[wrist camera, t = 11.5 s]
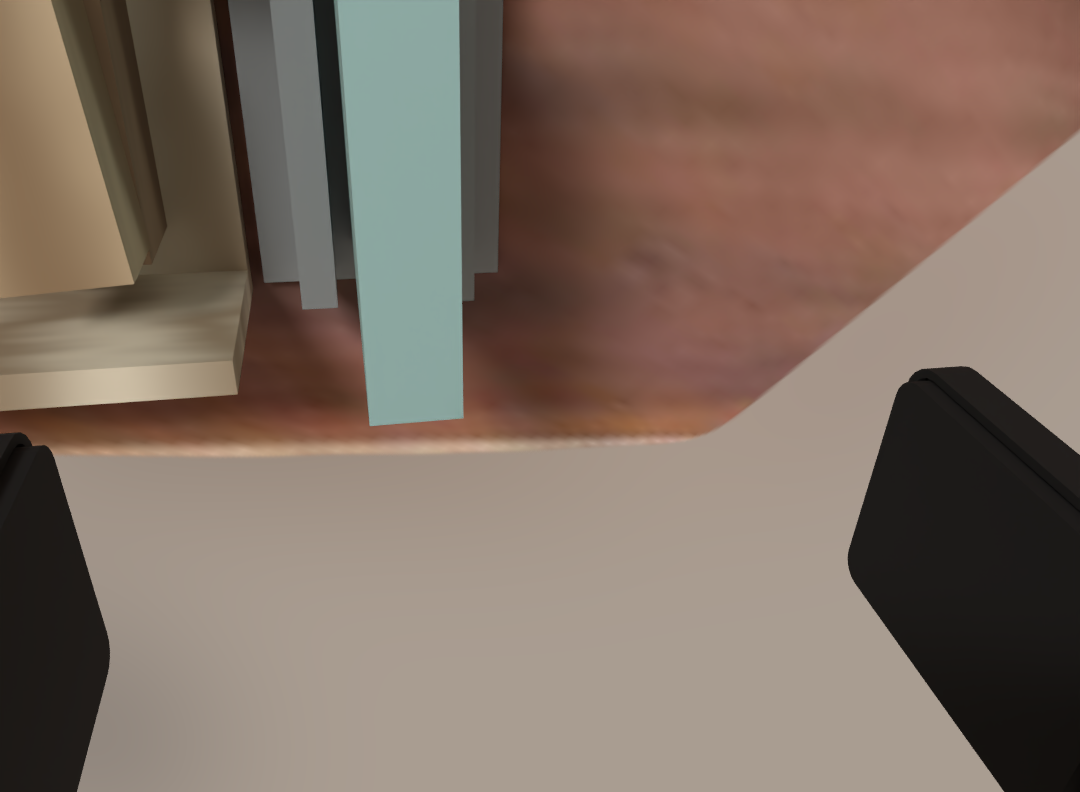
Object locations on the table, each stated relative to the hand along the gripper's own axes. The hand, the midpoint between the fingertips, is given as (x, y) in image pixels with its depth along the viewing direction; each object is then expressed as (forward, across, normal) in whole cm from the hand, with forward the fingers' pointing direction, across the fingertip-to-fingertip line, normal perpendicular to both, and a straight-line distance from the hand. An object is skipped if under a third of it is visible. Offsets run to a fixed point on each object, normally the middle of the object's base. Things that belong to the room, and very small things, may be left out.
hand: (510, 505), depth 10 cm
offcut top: (+20, +10, +1) cm, 23 cm away
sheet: (+24, 0, 0) cm, 25 cm away
